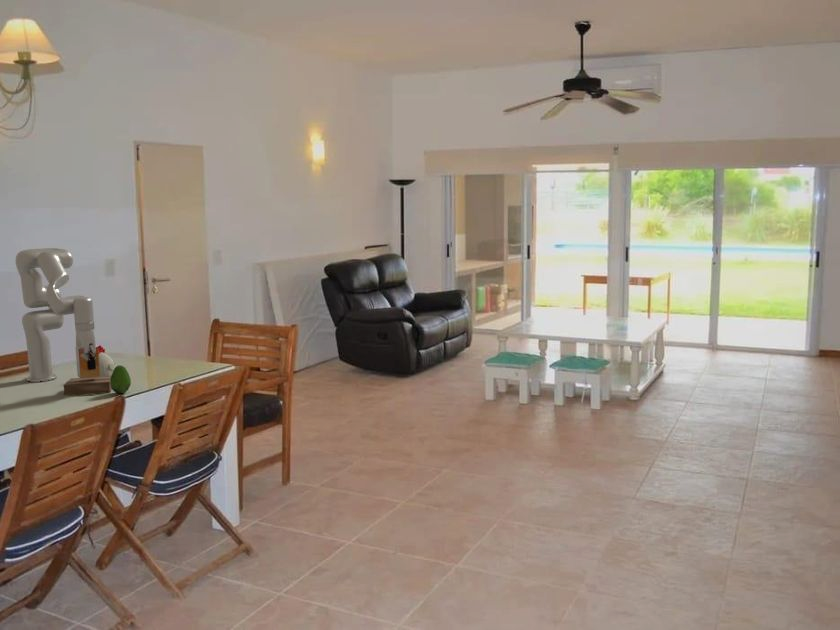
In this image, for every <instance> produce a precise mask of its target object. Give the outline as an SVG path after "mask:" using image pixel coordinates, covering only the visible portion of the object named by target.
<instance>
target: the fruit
mask: <svg viewBox="0 0 840 630" xmlns="http://www.w3.org/2000/svg"><path fill="white" fill-rule="evenodd" d="M131 383H132V379H131V376H130V373H129V372H128V370H127V368H126V367H125V366H123V365H116V367H115V369H114V371H113V373H112V376H111V379H110V385H111V388H112V391H113V392H115V393H116V394H118V393H122V394H125V393H126V392H128V390H129V389H130V387H131V385H132V384H131Z"/></svg>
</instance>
